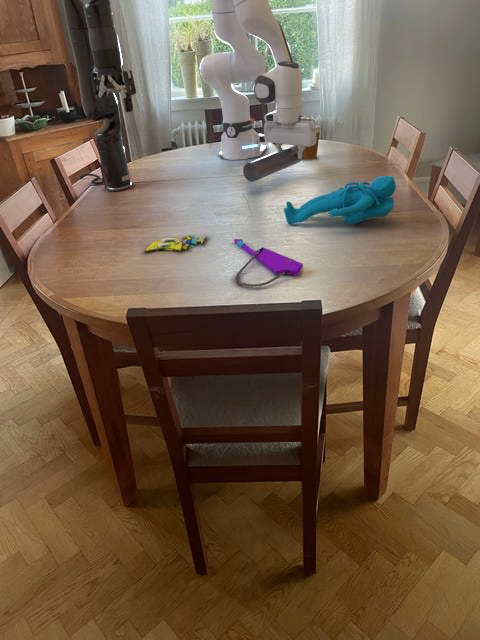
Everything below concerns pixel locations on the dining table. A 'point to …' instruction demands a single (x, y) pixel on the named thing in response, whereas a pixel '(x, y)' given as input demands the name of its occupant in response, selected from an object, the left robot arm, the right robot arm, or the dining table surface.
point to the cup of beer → (312, 147)
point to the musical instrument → (269, 262)
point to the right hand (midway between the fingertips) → (290, 157)
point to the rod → (271, 163)
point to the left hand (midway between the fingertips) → (118, 111)
